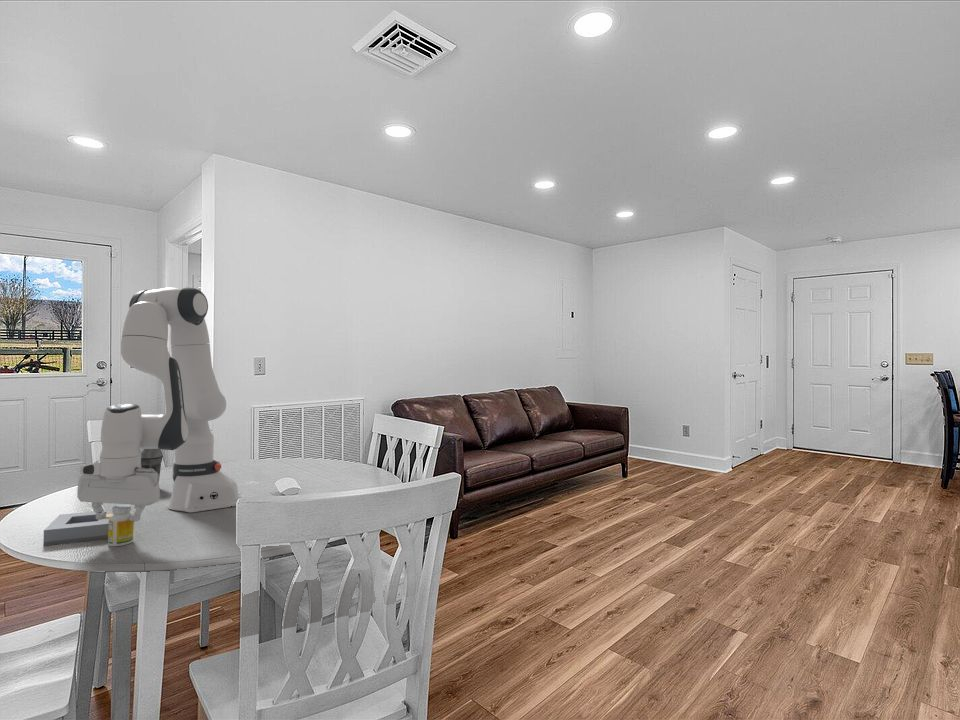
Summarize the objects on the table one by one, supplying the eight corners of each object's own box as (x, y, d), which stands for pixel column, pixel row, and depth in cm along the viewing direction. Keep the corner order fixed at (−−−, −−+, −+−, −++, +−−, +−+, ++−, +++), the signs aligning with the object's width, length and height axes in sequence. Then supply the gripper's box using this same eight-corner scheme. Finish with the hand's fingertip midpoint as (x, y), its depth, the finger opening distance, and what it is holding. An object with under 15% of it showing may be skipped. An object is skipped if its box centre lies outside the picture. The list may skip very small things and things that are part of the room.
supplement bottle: (103, 547, 129) (104, 509, 129) (116, 539, 134) (116, 503, 134) (125, 546, 129) (126, 509, 129) (137, 539, 135) (138, 503, 135)
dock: (120, 522, 147) (120, 507, 147) (110, 538, 135) (110, 522, 135) (59, 528, 141) (59, 513, 141) (43, 545, 128) (43, 529, 128)
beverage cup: (167, 486, 188) (168, 433, 188) (152, 491, 180) (153, 435, 180) (148, 485, 188) (150, 432, 188) (133, 490, 181) (134, 435, 181)
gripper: (166, 466, 134) (164, 518, 134) (94, 462, 135) (91, 514, 135) (149, 471, 127) (147, 526, 127) (73, 467, 129) (71, 521, 129)
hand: (118, 520), depth 131 cm, fingers open, 8 cm apart
